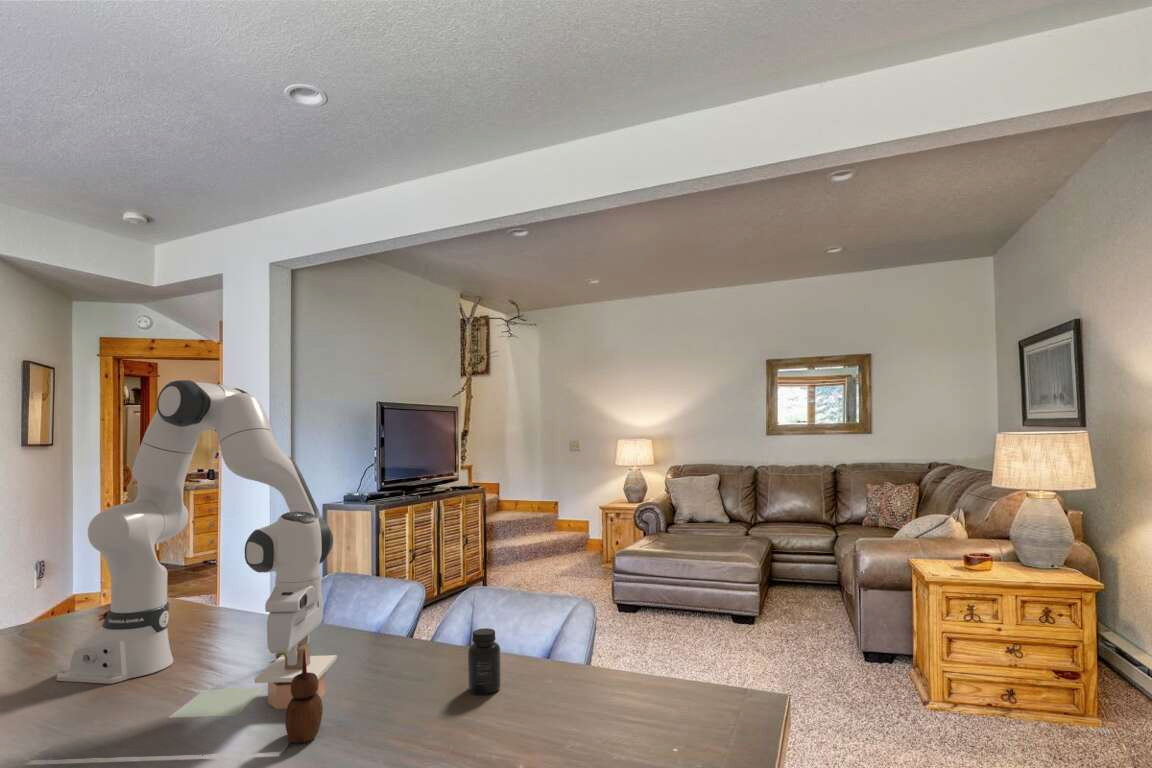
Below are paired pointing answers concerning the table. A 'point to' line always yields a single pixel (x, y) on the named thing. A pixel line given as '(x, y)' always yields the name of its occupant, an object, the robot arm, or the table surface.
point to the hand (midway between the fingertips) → (297, 660)
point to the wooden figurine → (304, 707)
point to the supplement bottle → (484, 663)
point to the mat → (218, 703)
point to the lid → (295, 666)
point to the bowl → (288, 692)
